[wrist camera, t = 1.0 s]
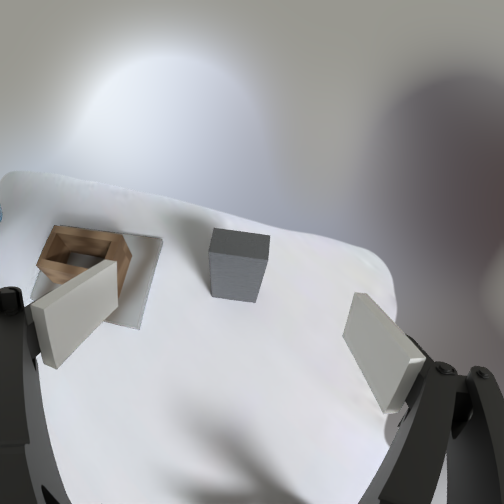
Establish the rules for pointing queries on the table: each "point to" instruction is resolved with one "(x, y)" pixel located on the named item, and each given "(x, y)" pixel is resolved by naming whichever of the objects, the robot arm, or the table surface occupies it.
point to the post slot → (93, 252)
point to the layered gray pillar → (237, 264)
